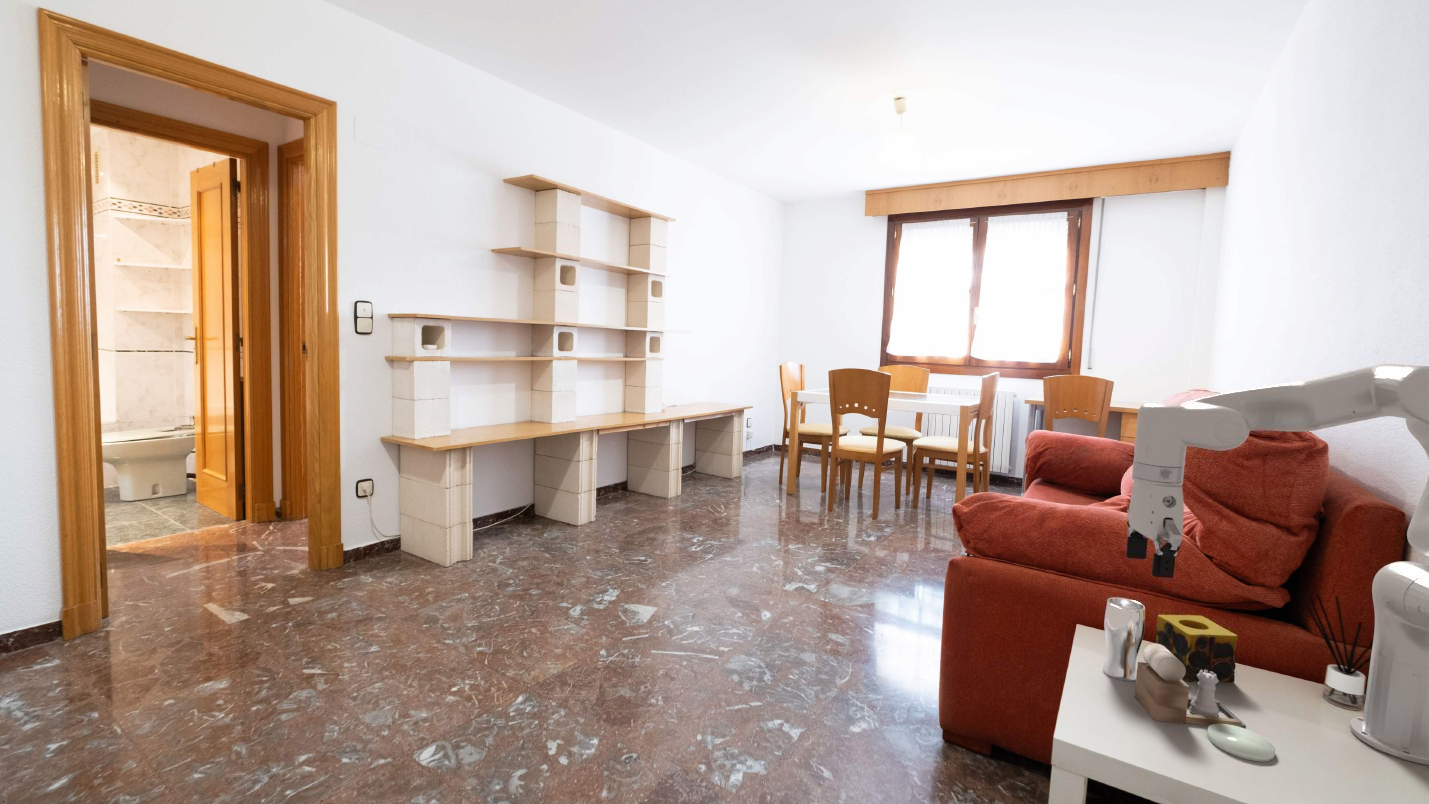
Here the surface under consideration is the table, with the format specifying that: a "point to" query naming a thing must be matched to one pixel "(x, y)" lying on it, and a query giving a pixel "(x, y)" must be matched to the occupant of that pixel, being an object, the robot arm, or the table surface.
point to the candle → (1198, 645)
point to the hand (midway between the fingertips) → (1148, 567)
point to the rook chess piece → (1205, 695)
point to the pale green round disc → (1241, 742)
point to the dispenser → (1170, 690)
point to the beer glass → (1123, 637)
